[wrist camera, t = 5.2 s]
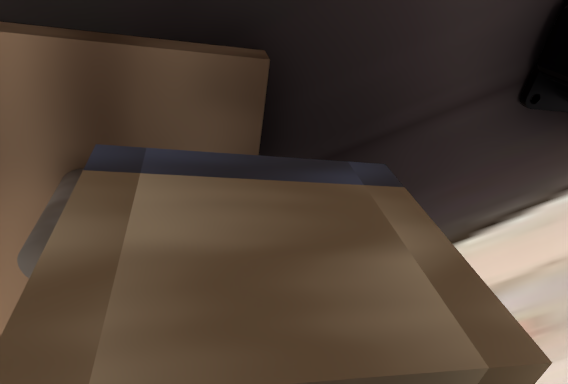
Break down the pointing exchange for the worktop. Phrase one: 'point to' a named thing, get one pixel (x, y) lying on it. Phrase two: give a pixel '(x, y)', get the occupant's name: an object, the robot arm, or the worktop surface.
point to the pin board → (105, 119)
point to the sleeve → (254, 281)
